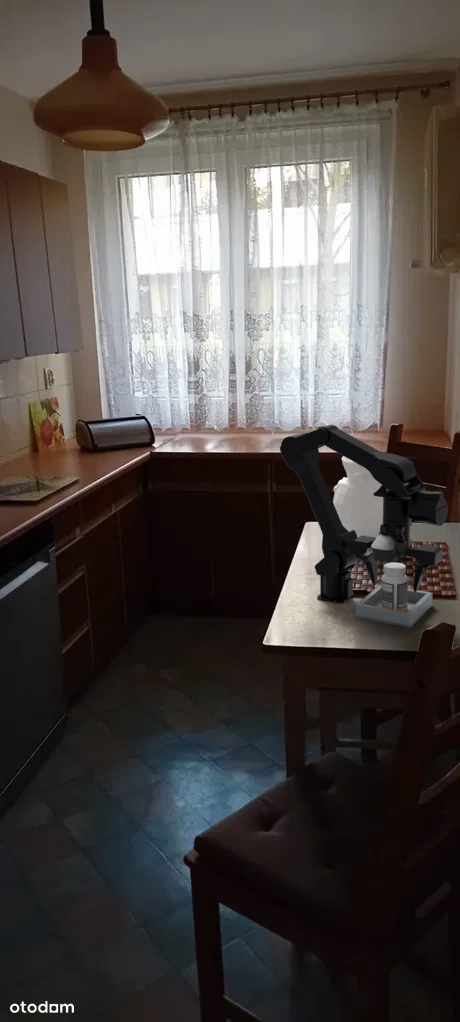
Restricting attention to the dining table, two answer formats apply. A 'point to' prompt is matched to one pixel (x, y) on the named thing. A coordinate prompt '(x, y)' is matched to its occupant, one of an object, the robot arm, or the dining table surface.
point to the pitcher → (358, 500)
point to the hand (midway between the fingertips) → (394, 587)
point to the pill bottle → (394, 587)
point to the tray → (373, 611)
